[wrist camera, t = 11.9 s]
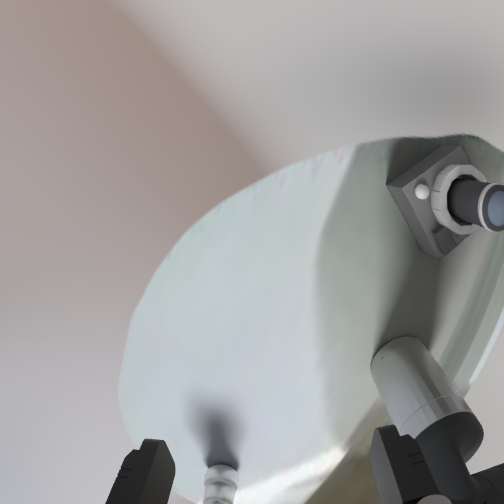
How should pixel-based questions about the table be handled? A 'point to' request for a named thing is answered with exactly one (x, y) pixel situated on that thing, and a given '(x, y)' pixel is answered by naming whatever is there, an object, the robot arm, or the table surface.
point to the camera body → (434, 198)
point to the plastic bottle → (220, 485)
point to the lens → (477, 203)
